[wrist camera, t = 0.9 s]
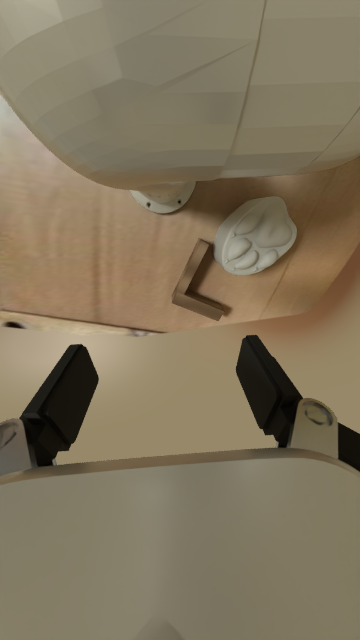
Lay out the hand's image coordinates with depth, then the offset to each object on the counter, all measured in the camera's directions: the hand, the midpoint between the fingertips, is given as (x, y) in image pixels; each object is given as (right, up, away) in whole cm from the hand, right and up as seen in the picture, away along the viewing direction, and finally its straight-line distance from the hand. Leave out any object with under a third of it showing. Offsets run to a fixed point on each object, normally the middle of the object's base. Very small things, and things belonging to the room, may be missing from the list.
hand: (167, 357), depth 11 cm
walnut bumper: (+7, +11, +30) cm, 33 cm away
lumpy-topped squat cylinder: (+14, +19, +26) cm, 35 cm away
